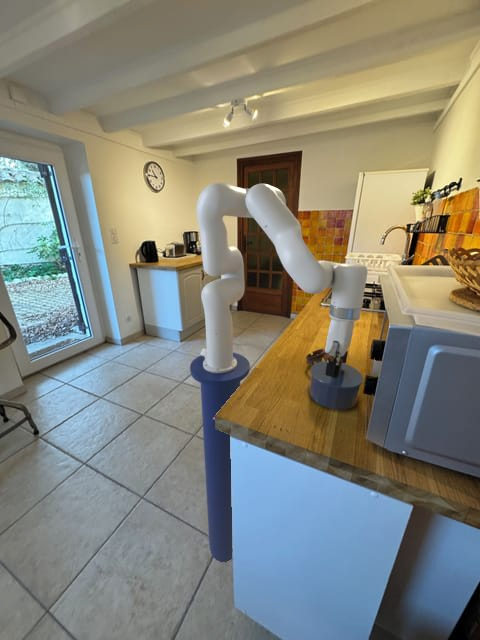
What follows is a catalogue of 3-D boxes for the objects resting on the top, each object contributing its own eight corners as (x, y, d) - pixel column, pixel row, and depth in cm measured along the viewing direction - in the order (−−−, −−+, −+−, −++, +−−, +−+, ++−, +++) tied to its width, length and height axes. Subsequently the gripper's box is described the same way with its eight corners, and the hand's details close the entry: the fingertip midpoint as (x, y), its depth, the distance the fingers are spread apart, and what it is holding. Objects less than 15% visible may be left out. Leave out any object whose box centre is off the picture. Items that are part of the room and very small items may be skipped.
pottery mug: (325, 381, 83) (314, 358, 83) (307, 379, 92) (298, 358, 91) (349, 364, 88) (339, 342, 87) (330, 363, 96) (321, 344, 96)
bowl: (302, 399, 74) (305, 378, 71) (317, 378, 84) (319, 359, 82) (351, 416, 67) (355, 394, 64) (360, 391, 77) (364, 371, 75)
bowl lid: (303, 380, 71) (304, 362, 69) (318, 360, 82) (320, 344, 81) (357, 397, 64) (360, 378, 62) (366, 373, 75) (369, 355, 73)
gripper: (338, 302, 75) (330, 353, 81) (320, 317, 62) (313, 378, 68) (365, 306, 71) (356, 360, 77) (353, 323, 58) (342, 387, 64)
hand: (336, 368), depth 72 cm, fingers open, 9 cm apart
